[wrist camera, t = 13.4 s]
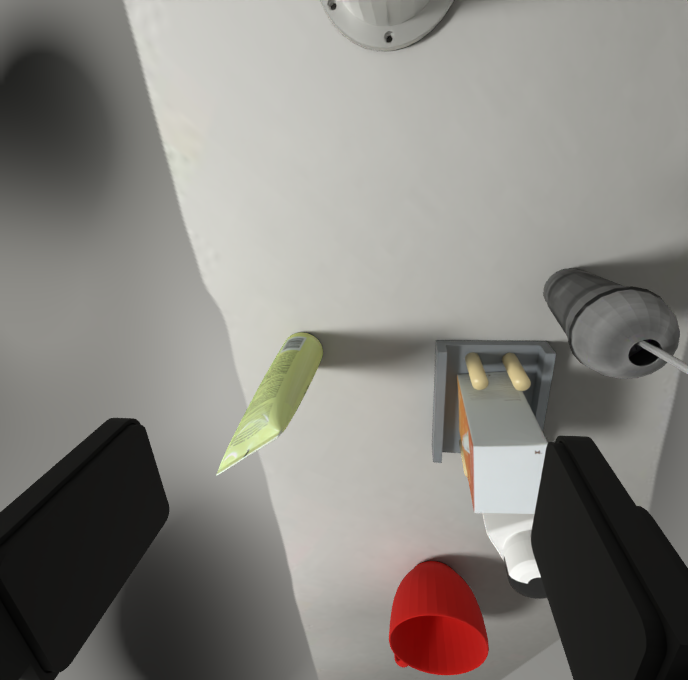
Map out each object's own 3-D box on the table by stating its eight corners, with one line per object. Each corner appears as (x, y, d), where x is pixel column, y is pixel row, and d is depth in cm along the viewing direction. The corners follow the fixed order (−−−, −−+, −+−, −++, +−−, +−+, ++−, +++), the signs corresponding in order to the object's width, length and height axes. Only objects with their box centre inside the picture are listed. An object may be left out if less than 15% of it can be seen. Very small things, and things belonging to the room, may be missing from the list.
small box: (455, 373, 46) (472, 445, 35) (513, 369, 45) (551, 443, 33) (457, 430, 50) (473, 515, 38) (512, 429, 48) (546, 515, 37)
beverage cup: (524, 266, 42) (613, 346, 24) (601, 245, 40) (762, 315, 22) (534, 328, 44) (622, 444, 26) (607, 312, 42) (756, 424, 24)
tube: (320, 375, 51) (273, 490, 33) (281, 367, 51) (214, 477, 33) (326, 335, 48) (279, 436, 31) (285, 326, 49) (215, 421, 31)
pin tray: (435, 340, 46) (440, 367, 40) (546, 341, 45) (568, 369, 39) (431, 445, 52) (435, 482, 46) (529, 450, 51) (545, 489, 45)
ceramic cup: (364, 592, 66) (357, 660, 57) (420, 532, 59) (422, 600, 50) (431, 626, 67) (435, 698, 58) (495, 571, 60) (510, 644, 51)
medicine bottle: (549, 510, 54) (585, 598, 43) (498, 525, 56) (520, 612, 45) (528, 472, 52) (561, 554, 41) (476, 489, 54) (493, 572, 43)
